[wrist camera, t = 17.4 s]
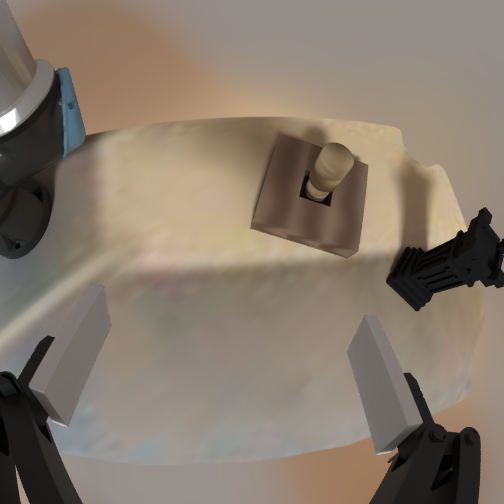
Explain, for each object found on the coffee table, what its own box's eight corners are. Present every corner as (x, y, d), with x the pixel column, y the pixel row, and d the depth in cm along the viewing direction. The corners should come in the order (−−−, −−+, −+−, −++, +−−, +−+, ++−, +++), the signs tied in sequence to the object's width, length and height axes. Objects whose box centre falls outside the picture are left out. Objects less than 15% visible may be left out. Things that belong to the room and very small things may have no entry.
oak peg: (294, 207, 47) (319, 164, 35) (300, 184, 48) (324, 138, 36) (320, 215, 47) (352, 175, 35) (324, 192, 48) (355, 149, 36)
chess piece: (434, 276, 47) (515, 244, 27) (416, 311, 44) (504, 291, 25) (406, 247, 47) (484, 202, 28) (386, 282, 45) (470, 247, 26)
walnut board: (250, 228, 45) (253, 218, 41) (274, 147, 50) (279, 133, 46) (347, 258, 46) (358, 251, 42) (359, 176, 50) (368, 164, 46)
